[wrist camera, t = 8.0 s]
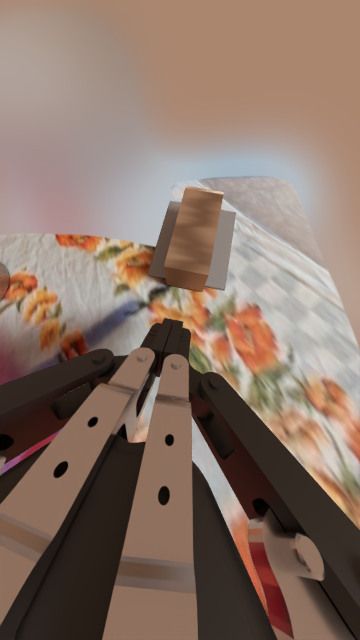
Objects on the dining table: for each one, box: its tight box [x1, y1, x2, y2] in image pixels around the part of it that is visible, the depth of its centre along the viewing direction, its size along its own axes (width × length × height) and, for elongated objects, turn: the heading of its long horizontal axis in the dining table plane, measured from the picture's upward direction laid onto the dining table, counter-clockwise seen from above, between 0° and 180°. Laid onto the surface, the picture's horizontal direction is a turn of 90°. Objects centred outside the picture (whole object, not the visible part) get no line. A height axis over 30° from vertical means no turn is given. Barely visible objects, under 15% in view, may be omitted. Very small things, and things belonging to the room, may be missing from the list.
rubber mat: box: [148, 201, 236, 290], centre depth 20 cm, size 11×14×1 cm
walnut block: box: [164, 186, 224, 292], centre depth 18 cm, size 5×4×12 cm
